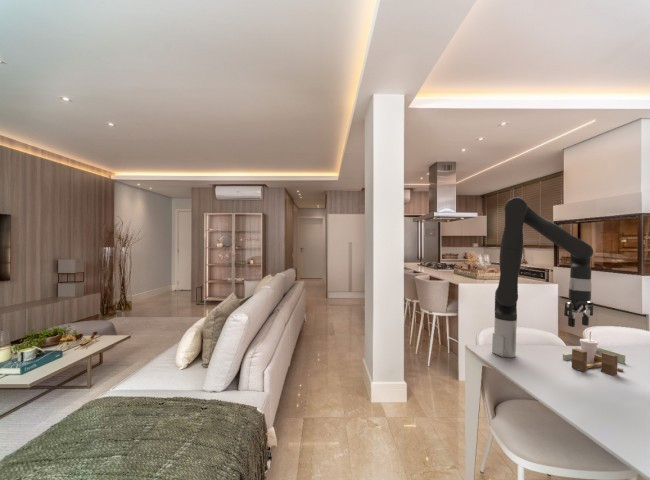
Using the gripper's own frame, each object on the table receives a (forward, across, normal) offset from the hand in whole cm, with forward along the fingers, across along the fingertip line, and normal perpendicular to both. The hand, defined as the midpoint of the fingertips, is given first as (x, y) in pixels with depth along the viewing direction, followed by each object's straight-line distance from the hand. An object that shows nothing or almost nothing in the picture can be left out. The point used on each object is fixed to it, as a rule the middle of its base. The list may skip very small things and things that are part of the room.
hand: (578, 325), depth 133 cm
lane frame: (+18, -17, -4) cm, 25 cm away
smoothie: (+19, -14, -4) cm, 24 cm away
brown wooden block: (+18, -12, +7) cm, 23 cm away
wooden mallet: (+18, -8, -2) cm, 20 cm away
